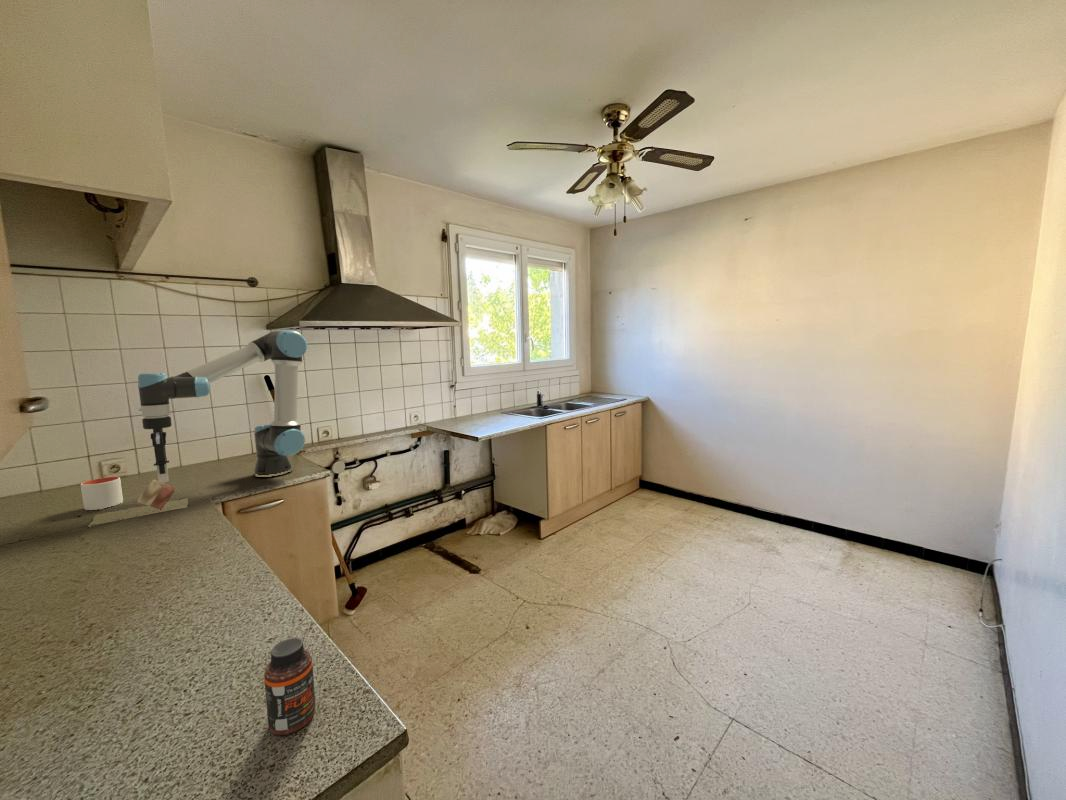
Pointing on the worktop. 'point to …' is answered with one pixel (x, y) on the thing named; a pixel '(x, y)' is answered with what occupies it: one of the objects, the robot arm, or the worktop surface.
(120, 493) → the cup
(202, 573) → the worktop surface
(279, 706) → the supplement bottle
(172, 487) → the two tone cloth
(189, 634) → the worktop surface
